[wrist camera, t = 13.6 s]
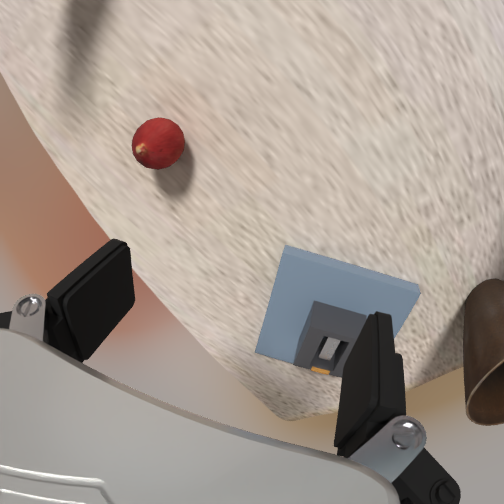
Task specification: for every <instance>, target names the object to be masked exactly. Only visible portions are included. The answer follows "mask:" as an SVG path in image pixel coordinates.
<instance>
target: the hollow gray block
mask: <svg viewBox="0 0 504 504" xmlns="http://www.w3.org/2000/svg"><path fill="white" fill-rule="evenodd" d="M366 320H367V315H364V314H360V313H357V312H353V311H350V310H346V309H343V308H339V307H336V306H332V305H329V304H325V303H322V302H318V301H315V300H314V302H313V304H312V307H311V310H310V312H309V315H308V317H307V320H306V322H305V325H304V327H303V330H302V332H301V335H300V337H299V340H298V345H297V350H296V354H295V359H294V363H293V365H295V366H299V367H303V368H306V369H310V370H311V371H315V372H319V373H323V374H327V375H328V374H329V375H333V376H337V377H341V378H342V374H343V368H344V364H345V362H346V360H347V358H348V356H349V354H350V352H351V350H352V348H353V346H354V344H355V342H356V340H357V338H358V336H359V334H360V332H361V330H362V328H363V326H364V324H365V322H366ZM324 336H326V337H330V338H334V339H337V340H341V341H340V343H339V345H338V347H337V348H336V350H335V352H334V354H333V356H332V358H331V360H330V361H329V360H326V359H322V358H318V356H319V349H320V343H321V341H322V339H323V337H324Z"/></svg>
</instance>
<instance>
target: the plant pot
mask: <svg viewBox="0 0 504 504" xmlns="http://www.w3.org/2000/svg"><path fill="white" fill-rule="evenodd" d="M463 365H464V385H465V402H466V414H467V416H468V418H469V419H470V420H471V421H472V422H474V423H476V424H479V425H486V426H490V425H498V424H503V423H504V281H502V280H499V279H489V280H486V281H484V282H482V283H480V284H479V285H478V286H476V287H475V288H474V289H473V290H472V292H471V293H470V295H469V296H468V299H467V301H466V305H465V316H464V335H463Z"/></svg>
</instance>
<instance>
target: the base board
mask: <svg viewBox="0 0 504 504" xmlns="http://www.w3.org/2000/svg"><path fill="white" fill-rule="evenodd" d="M420 294H421V293H420V290H419V286H418V284H415V283H411V282H408V281H405V280H402V279H398V278H395V277H392V276H389V275H385V274H382V273H379V272H375V271H372V270H369V269H365V268H362V267H359V266H355V265H352V264H349V263H345V262H342V261H339V260H335V259H332V258H329V257H325V256H322V255H318V254H315V253H312V252H308V251H305V250H301V249H298V248H295V247H291V246H288V245H285V248H284V250H283V253H282V257H281V261H280V265H279V268H278V272H277V276H276V279H275V283H274V286H273V290H272V294H271V297H270V301H269V304H268V308H267V311H266V315H265V318H264V322H263V326H262V329H261V332H260V336H259V339H258V343H257V346H256V350H255V353H259V354H262V355H265V356H269V357H272V358H275V359H279V360H282V361H286V362H289V363H294V359H295V354H296V350H297V345H298V340H299V337H300V335H301V332H302V330H303V327H304V325H305V322H306V320H307V317H308V315H309V312H310V310H311V307H312V304H313V302H314V300H315V301H318V302H322V303H325V304H329V305H332V306H336V307H339V308H343V309H346V310H350V311H353V312H357V313H360V314H364V315H367V317H368V316H369V314H373V315H374V313H375V312H376V311H378V312H382V313H386V314H390V315H391V317H392V325H393V335H394V338H395V336H396V335H397V333H398V332H399V330H400V328H401V327H402V325H403V323H404V322H405V320H406V318H407V317H408V315H409V313H410V312H411V310H412V308H413V306H414V305H415V303H416V301H417V299H418V298H419V296H420Z"/></svg>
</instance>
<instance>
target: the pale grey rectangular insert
mask: <svg viewBox="0 0 504 504" xmlns="http://www.w3.org/2000/svg"><path fill="white" fill-rule="evenodd" d="M340 341H341V340H337V339H334V338H330V337H326V336H324V337H323V339H322V341H321V343H320V349H319V356H318V358H322V359H326V360H329V361H330V360H331V358H332V356H333V354H334V352H335V350H336V348H337V347H338V345H339V343H340Z"/></svg>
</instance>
